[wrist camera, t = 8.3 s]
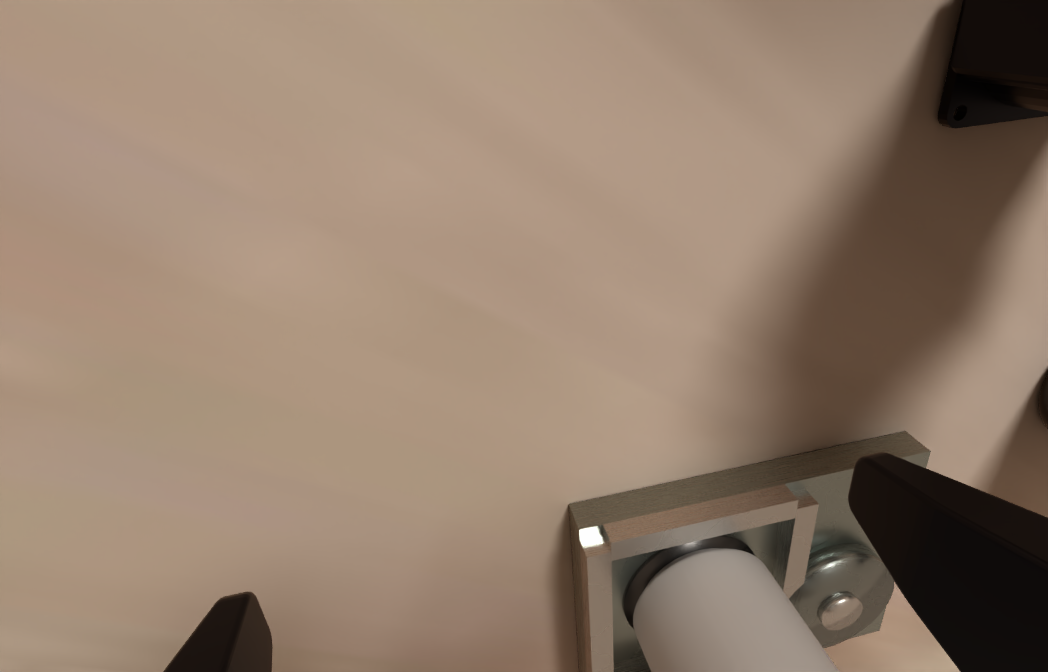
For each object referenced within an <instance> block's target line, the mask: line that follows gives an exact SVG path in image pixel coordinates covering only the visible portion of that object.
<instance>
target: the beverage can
mask: <svg viewBox="0 0 1048 672" xmlns="http://www.w3.org/2000/svg"><path fill="white" fill-rule="evenodd" d="M633 626H634V631H635V634H636V636H637V639H638V641H639V644H640V646H641V648H642V651H643V653H644V656H645V658H646V660H647V663H648V665H649V667H650V670H651V672H840V671H839V670H838V669H837V667H836V666H835V664H834V663H833V661H832V660H831V659H830V657H829V656H828V654H827V653H826V651H825V650H824V649H823V647H822V646H821V644H820V643H819V642H818V640H817V639H816V637H815V636H814V634H813V633H812V632H811V630H810V629H809V627H808V626H807V624H806V623H805V622H804V620H803V619H802V617H801V616H800V614H799V613H798V612H797V610H796V609H795V607H794V606H793V604H792V603H791V602H790V600H789V599H788V597H787V596H786V594H785V593H784V592H783V590H782V589H781V587H780V586H779V584H778V583H777V582H776V580H775V579H774V577H773V576H772V574H771V573H770V572H769V570H768V569H767V567H766V566H765V565H764V563H763V562H762V561H761V560H760V559H758V558H757V557H756V556H754V555H752V554H750V553H748V552H745V551H742V550H737V549H727V548H723V549H721V548H710V549H702V550H698V551H694V552H691V553H688V554H686V555H683V556H681V557H679V558H677V559H675V560H674V561H672V562H670V563H669V564H667V565H666V566H665V567H663V568H662V569H661V570H660V571H659V572H658V573H657V574H656V575H655V576H654V577H653V578H652V579H651V580H650V582H649V583H648V585H647V586H646V588H645V589H644V591H643V592H642V594H641V596H640V597H639V599H638V602H637V604H636V607H635V610H634V615H633Z"/></svg>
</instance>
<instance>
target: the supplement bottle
mask: <svg viewBox="0 0 1048 672" xmlns="http://www.w3.org/2000/svg"><path fill="white" fill-rule="evenodd" d="M1039 412H1040V416H1041V419H1042V421H1043V423H1044V424H1045V426H1046V427H1047V428H1048V374H1047V376H1046V378H1045V380H1044V383H1043V385H1042V388H1041V392H1040V396H1039Z"/></svg>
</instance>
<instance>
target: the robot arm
mask: <svg viewBox="0 0 1048 672" xmlns="http://www.w3.org/2000/svg"><path fill="white" fill-rule="evenodd" d="M957 108H958V109H957ZM956 109H957V113H956V115H955V116H954V112H955V110H956ZM1042 116H1048V0H963V4H962V8H961V13H960V17H959V22H958V26H957V30H956V35H955V39H954V44H953V48H952V53H951V57H950V62H949V66H948V71H947V75H946V80H945V84H944V89H943V93H942V98H941V102H940V107H939V111H938V121H939V123H940V124H941V125H942V126H946V127H951V128H962V127H969V126H977V125H984V124H991V123H998V122H1005V121H1013V120H1020V119H1027V118H1034V117H1042ZM848 503H849V507H850V509H851V512H852V513H853V515H854V517H855V518H856V520H857V522H858V523H859V525H860V526H861V528H862V530H863V531H864V533H865V534H866V536H867V538H868V539H869V541H870V543H871V544H872V546H873V547H874V549H875V551H876V552H877V554H878V555H879V557H880V559H881V560H882V562H883V563H884V565H885V567H886V568H887V570H888V572H889V573H890V575H891V576H892V578H893V580H894V581H895V583H896V584H897V586H898V587H899V589H900V591H901V592H902V594H903V595H904V597H905V598H906V600H907V601H908V602H909V604H910V605H911V607H912V608H913V609H914V611H915V612H916V613H917V615H918V616H919V617H920V619H921V620H922V621H923V623H924V624H925V625H926V627H927V628H928V629H929V631H930V632H931V633H932V635H933V636H934V637H935V639H936V640H937V641H938V643H939V644H940V645H941V647H942V648H943V649H944V650H945V652H946V653H947V654H948V656H949V657H950V658H951V660H952V661H953V662H954V664H955V665H956V666H957V668H958V669H959V670H960V672H1048V518H1047V517H1045V516H1042V515H1040V514H1037V513H1035V512H1032V511H1030V510H1027V509H1025V508H1022V507H1020V506H1018V505H1015V504H1013V503H1010V502H1008V501H1005V500H1003V499H1000V498H998V497H995V496H993V495H990V494H988V493H985V492H983V491H980V490H978V489H976V488H973V487H971V486H968V485H966V484H963V483H961V482H958V481H956V480H953V479H951V478H948V477H946V476H943V475H941V474H939V473H936V472H934V471H931V470H929V469H926V468H924V467H921V466H919V465H916V464H914V463H911V462H909V461H906V460H904V459H901V458H899V457H897V456H894V455H892V454H889V453H885V452H880V453H875V454H870V455H866V456H862V457H860V458H858V460H857V461H856V462H855V465H854V470H853V475H852V479H851V484H850V488H849V493H848ZM163 672H272V637H271V632H270V629H269V626H268V624H267V622H266V619H265V617H264V614H263V612H262V609H261V607H260V605H259V602H258V600H257V598H256V596H255V595H254V594H253V593H252V592H243V593H239V594H234V595H230V596H225V597H222V598H221V599H219V600H218V601H217V602H216V603H215V604H214V606H213V607H212V608H211V610H210V611H209V612H208V614H207V615H206V616H205V617H204V619H203V620H202V621H201V623H200V624H199V625H198V627H197V628H196V629H195V631H194V632H193V633H192V635H191V636H190V637H189V639H188V640H187V641H186V642H185V644H184V645H183V646H182V648H181V649H180V650H179V652H178V653H177V654H176V656H175V657H174V658H173V660H172V661H171V662H170V664H169V665H168V666H167V667H166V669H165V670H164V671H163Z"/></svg>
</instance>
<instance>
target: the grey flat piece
mask: <svg viewBox="0 0 1048 672" xmlns="http://www.w3.org/2000/svg"><path fill="white" fill-rule="evenodd" d="M880 452H885V453H889V454H892V455H894V456H897V457H899V458H901V459H904V460H906V461H909V462H911V463H914V464H916V465H919V466H921V467H924V468H926V466H927V462H928V459H929V455H930V452H931V451H930V450H929V449H927V448H926V447H925V446H924V445H922V444H921V443H920V442H918V441H917V440H916V439H915V438H913V437H912V436H911V435H910V434H908V433H907V432H906V431H904V432H900V433H895V434H891V435H886V436H881V437H877V438H872V439H867V440H863V441H858V442H854V443H849V444H844V445H840V446H835V447H831V448H826V449H821V450H817V451H812V452H808V453H803V454H798V455H794V456H789V457H785V458H780V459H775V460H771V461H766V462H761V463H757V464H752V465H748V466H743V467H738V468H734V469H729V470H725V471H720V472H715V473H711V474H706V475H702V476H697V477H692V478H688V479H683V480H679V481H674V482H669V483H665V484H660V485H656V486H651V487H646V488H642V489H637V490H632V491H628V492H623V493H619V494H614V495H609V496H605V497H600V498H596V499H591V500H586V501H582V502H577V503H573V504H569V514H570V530H571V547H572V563H573V580H574V596H575V612H576V629H577V645H578V662H579V672H651V670H650V667H649V665H648V663H647V660H646V658H645V656H644V653H643V651H642V648H641V646H640V644H639V641H638V639H637V636H636V634H635V631H634V626H633V615H634V610H635V607H636V604H637V602H638V599H639V597H640V596H641V594H642V592H643V591H644V589H645V588H646V586H647V585H648V583H649V582H650V580H651V579H652V578H653V577H654V576H655V575H656V574H657V573H658V572H659V571H660V570H661V569H662V568H663V567H665V566H666V565H667V564H669V563H670V562H672V561H674V560H675V559H677V558H679V557H681V556H683V555H686V554H688V553H691V552H694V551H698V550H702V549H710V548H721V549H723V548H727V549H737V550H742V551H745V552H748V553H750V554H752V555H754V556H756V557H757V558H758V559H760V560H761V561H762V562H763V563H764V565H765V566H766V567H767V569H768V570H769V572H770V573H771V574H772V576H773V577H774V579H775V580H776V582H777V583H778V584H779V586H780V587H781V589H782V590H783V592H784V593H785V594H786V596H787V597H788V599H789V600H790V602H791V603H792V604H793V606H794V607H795V609H796V610H797V612H798V613H799V614H800V616H801V617H802V619H803V620H804V622H805V623H806V624H807V626H808V627H809V629H810V630H811V632H812V633H813V634H814V636H815V637H816V639H817V640H818V642H819V643H820V644H821V646H822V647H823V648H826V647H830V646H833V645H836V644H838V643H841V642H843V641H845V640H847V639H850V638H853V637H857V636H861V635H865V634H868V633H872V632H876V631H879V629H880V626H881V623H882V619H883V616H884V612H885V609H886V605H887V604H888V602H889V600H890V598H891V596H892V593H893V589H894V580H893V578H892V576H891V575H890V573H889V572H888V570H887V568H886V567H885V565H884V563H883V562H882V560H881V559H880V557H879V555H878V554H877V552H876V551H875V549H874V547H873V546H872V544H871V543H870V541H869V539H868V538H867V536H866V534H865V533H864V531H863V530H862V528H861V526H860V525H859V523H858V522H857V520H856V518H855V517H854V515H853V513H852V512H851V509H850V507H849V503H848V493H849V488H850V484H851V479H852V475H853V470H854V465H855V462H856V461H857V460H858V458H860V457H862V456H866V455H870V454H875V453H880Z"/></svg>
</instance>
